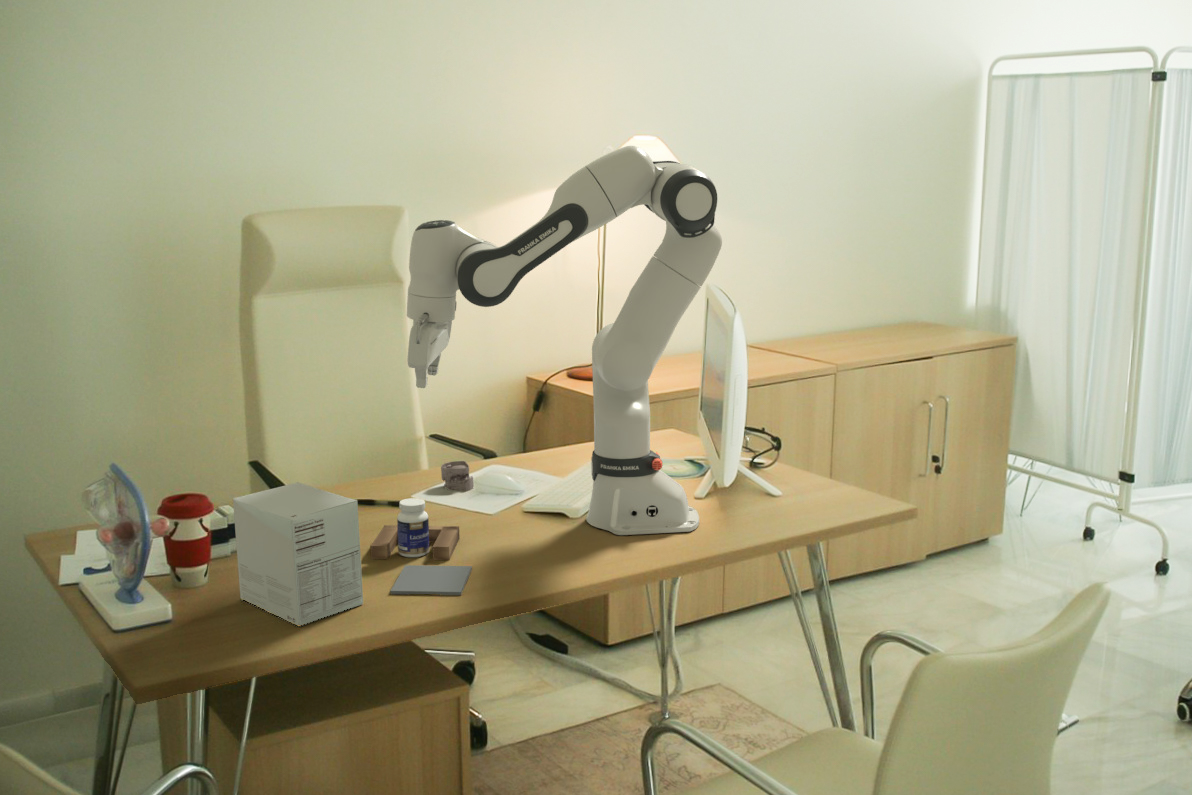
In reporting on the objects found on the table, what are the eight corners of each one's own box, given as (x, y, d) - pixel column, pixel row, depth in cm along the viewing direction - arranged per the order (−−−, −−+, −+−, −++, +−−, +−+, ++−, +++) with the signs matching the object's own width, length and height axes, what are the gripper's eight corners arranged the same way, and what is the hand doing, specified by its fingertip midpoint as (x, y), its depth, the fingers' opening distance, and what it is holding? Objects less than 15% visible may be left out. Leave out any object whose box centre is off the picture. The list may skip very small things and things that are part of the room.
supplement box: (366, 604, 196) (361, 500, 192) (298, 629, 186) (291, 520, 182) (305, 578, 207) (299, 479, 203) (237, 601, 198) (230, 497, 194)
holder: (459, 538, 227) (459, 526, 226) (449, 559, 216) (448, 546, 215) (385, 537, 228) (384, 525, 227) (371, 558, 217) (370, 545, 216)
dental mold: (440, 482, 264) (439, 460, 263) (471, 480, 265) (470, 458, 264) (442, 492, 256) (441, 470, 255) (474, 490, 257) (473, 468, 256)
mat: (471, 569, 211) (471, 566, 211) (461, 595, 200) (460, 591, 199) (405, 568, 212) (405, 565, 212) (390, 594, 200) (390, 590, 200)
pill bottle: (413, 560, 216) (411, 508, 213) (391, 554, 219) (389, 502, 217) (436, 551, 220) (434, 500, 218) (414, 545, 224) (412, 494, 221)
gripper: (436, 321, 208) (431, 397, 212) (458, 300, 228) (454, 369, 232) (400, 317, 209) (397, 393, 213) (426, 296, 228) (422, 366, 232)
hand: (427, 380), depth 222 cm, fingers open, 8 cm apart
